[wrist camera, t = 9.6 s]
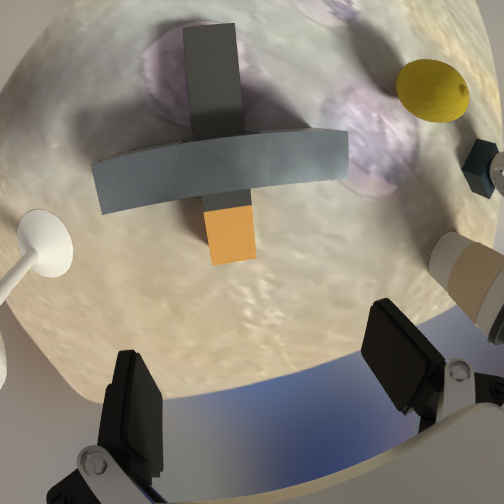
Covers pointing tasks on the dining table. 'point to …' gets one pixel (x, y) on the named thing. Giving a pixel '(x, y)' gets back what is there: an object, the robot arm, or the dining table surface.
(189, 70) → the plug
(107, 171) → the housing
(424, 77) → the lemon
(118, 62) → the dining table surface
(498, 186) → the watch
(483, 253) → the coffee cup
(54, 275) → the champagne flute
